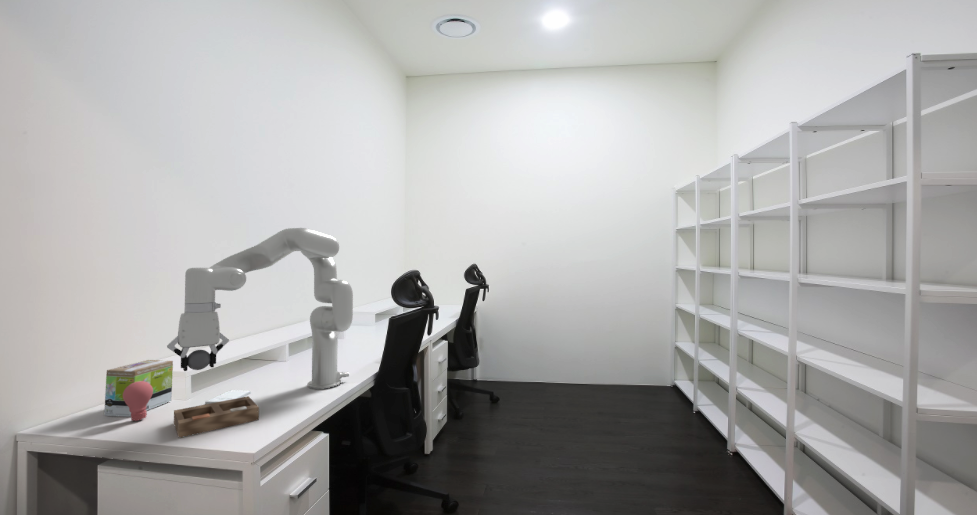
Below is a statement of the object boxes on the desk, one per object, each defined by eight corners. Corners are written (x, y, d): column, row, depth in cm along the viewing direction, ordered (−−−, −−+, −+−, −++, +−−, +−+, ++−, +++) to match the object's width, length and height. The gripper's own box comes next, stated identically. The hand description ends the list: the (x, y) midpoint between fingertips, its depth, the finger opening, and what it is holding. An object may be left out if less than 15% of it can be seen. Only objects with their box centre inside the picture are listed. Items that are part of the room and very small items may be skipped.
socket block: (248, 408, 137) (248, 395, 138) (258, 419, 128) (258, 405, 128) (173, 423, 124) (173, 409, 124) (178, 437, 114) (179, 422, 114)
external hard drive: (250, 394, 153) (227, 406, 140) (229, 394, 153) (204, 405, 141) (250, 390, 153) (227, 401, 140) (229, 389, 153) (205, 401, 141)
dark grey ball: (208, 366, 127) (209, 346, 127) (212, 370, 122) (212, 350, 123) (185, 369, 123) (185, 349, 123) (187, 373, 118) (188, 352, 118)
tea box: (133, 417, 128) (134, 370, 129) (103, 416, 129) (104, 369, 129) (173, 401, 144) (173, 359, 144) (146, 400, 144) (146, 358, 144)
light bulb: (116, 422, 124) (117, 383, 124) (143, 414, 131) (144, 377, 131) (131, 426, 121) (131, 386, 122) (157, 418, 128) (158, 379, 128)
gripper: (230, 305, 132) (229, 361, 131) (162, 309, 120) (161, 370, 120) (235, 307, 126) (234, 366, 126) (164, 311, 114) (163, 376, 114)
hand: (198, 367), depth 123 cm, fingers closed on dark grey ball, 5 cm apart
